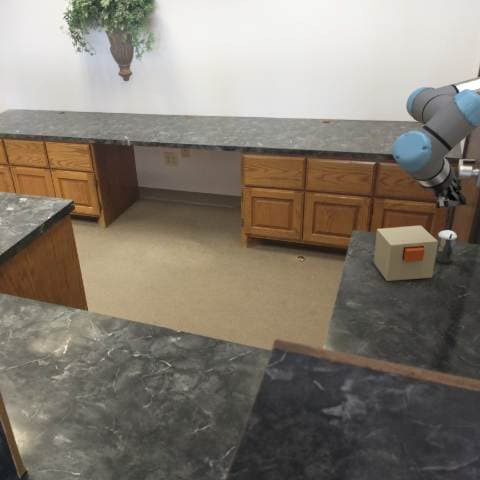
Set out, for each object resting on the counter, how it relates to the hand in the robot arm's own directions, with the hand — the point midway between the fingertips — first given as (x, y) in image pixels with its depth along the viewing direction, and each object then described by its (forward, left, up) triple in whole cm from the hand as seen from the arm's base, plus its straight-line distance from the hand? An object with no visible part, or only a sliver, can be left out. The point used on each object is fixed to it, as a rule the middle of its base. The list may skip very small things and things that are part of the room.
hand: (460, 202), depth 132 cm
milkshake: (+1, -4, -20) cm, 20 cm away
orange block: (+10, +8, -13) cm, 19 cm away
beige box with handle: (+12, +3, -20) cm, 23 cm away
